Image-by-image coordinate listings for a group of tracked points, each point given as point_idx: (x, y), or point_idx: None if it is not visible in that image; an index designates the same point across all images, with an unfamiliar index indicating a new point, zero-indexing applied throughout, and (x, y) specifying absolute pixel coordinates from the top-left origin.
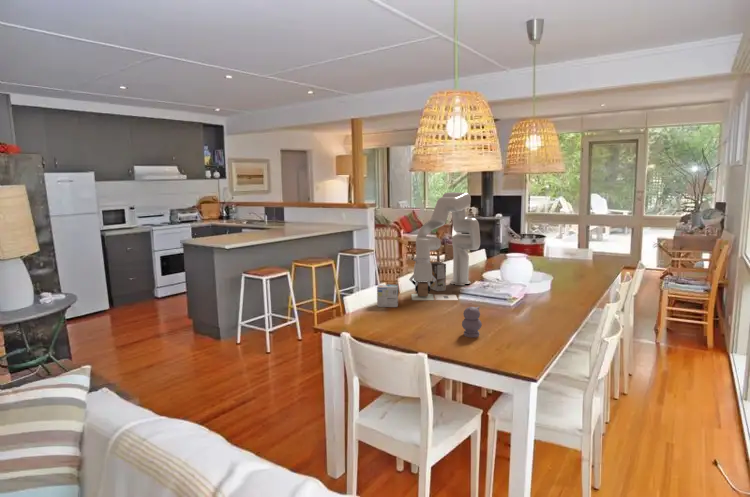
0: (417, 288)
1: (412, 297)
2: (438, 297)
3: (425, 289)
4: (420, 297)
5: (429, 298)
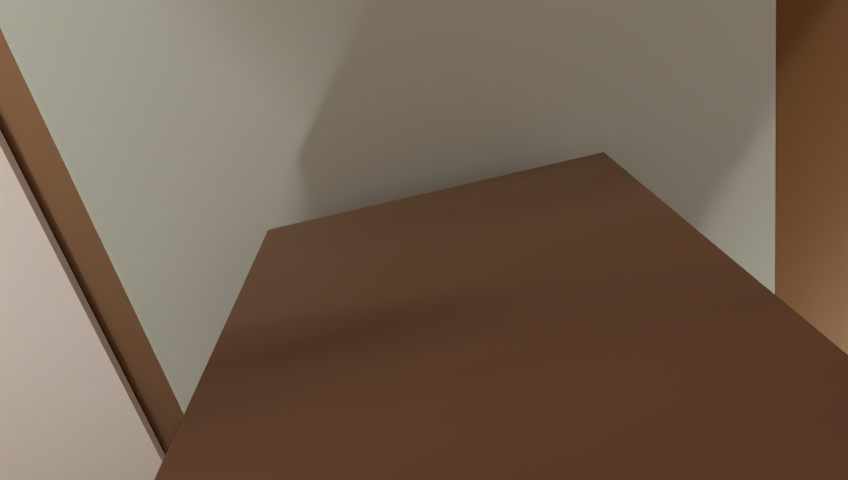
0: None
1: (754, 142)
2: (16, 370)
3: (329, 336)
4: None
5: (210, 155)
